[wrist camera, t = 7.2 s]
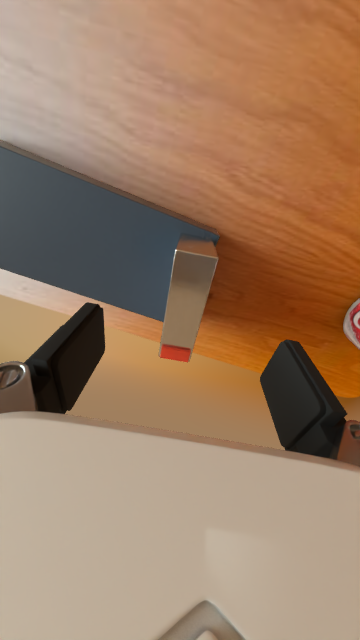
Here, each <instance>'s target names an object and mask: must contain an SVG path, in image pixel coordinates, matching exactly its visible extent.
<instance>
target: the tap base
mask: <svg viewBox="0 0 360 640" xmlns="http://www.w3.org/2000/svg"><path fill="white" fill-rule="evenodd" d="M180 233H186V234H191V235H196V236H201V237H206V238H211V239H212V241H213V244H214V246H215V247H216V244H217V242H218V240H219V238H220V236H219V234H218V232H217V230H216V229H214V228H212V227H209V226H207V225H204V224H202V223H200V222H197V221H195V220H192V219H190V218H188V217H185V216H183V215H180V214H178V213H175V212H173V211H171V210H168V209H166V208H163V207H161V206H158V205H156V204H154V203H151V202H149V201H146V200H144V199H142V198H139V197H137V196H134V195H132V194H129V193H127V192H125V191H122V190H120V189H117V188H115V187H112V186H110V185H108V184H105V183H103V182H100V181H98V180H96V179H93V178H91V177H88V176H86V175H83V174H81V173H79V172H76V171H74V170H71V169H69V168H66V167H64V166H62V165H59V164H57V163H54V162H52V161H50V160H47V159H45V158H42V157H40V156H37V155H35V154H33V153H30V152H28V151H25V150H23V149H21V148H18V147H16V146H13V145H11V144H8V143H6V142H4V141H1V140H0V268H1V269H4V270H7V271H10V272H13V273H16V274H19V275H22V276H25V277H28V278H31V279H34V280H37V281H40V282H43V283H46V284H49V285H52V286H56V287H59V288H62V289H65V290H68V291H71V292H74V293H77V294H80V295H83V296H86V297H89V298H92V299H95V300H98V301H101V302H104V303H107V304H110V305H113V306H116V307H119V308H122V309H125V310H128V311H132V312H135V313H138V314H141V315H144V316H147V317H150V318H153V319H156V320H159V321H162V322H164V317H165V311H166V304H167V298H168V291H169V285H170V279H171V272H172V266H173V260H174V253H175V249H176V246H177V242H178V239H179V236H180Z"/></svg>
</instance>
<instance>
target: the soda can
mask: <svg viewBox="0 0 360 640" xmlns="http://www.w3.org/2000/svg"><path fill="white" fill-rule="evenodd" d="M343 330H344V333H345V335H346V336H347V337H348V339H349V340H350V341H351V342H352V343H353V344H354V345H355V346H356V347H357V348H358V349H359V350H360V298H359V299H358V300H357V301H356V302H354V303H353V304H352V306H351V307H350V308H349V309H348V311H347V313H346V316H345V319H344V323H343Z"/></svg>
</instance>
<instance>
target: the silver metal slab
mask: <svg viewBox="0 0 360 640" xmlns="http://www.w3.org/2000/svg"><path fill="white" fill-rule="evenodd" d="M218 259H219V258H218V255H217V252H216V249H215V246H214V244H213V241H212V239H211V238H206V237H201V236H196V235H191V234H186V233H180V236H179V239H178V242H177V246H176V249H175V253H174V260H173V266H172V272H171V279H170V285H169V291H168V298H167V304H166V311H165V317H164V323H163V330H162V336H161V342H160V349H159V357H160V358H166V359H171V360H177V361H184V362H189V361H190V358H191V354H192V351H193V348H194V344H195V340H196V337H197V333H198V330H199V326H200V323H201V319H202V316H203V312H204V309H205V305H206V302H207V298H208V295H209V291H210V288H211V284H212V281H213V277H214V273H215V270H216V266H217V263H218Z"/></svg>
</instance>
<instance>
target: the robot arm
mask: <svg viewBox="0 0 360 640" xmlns="http://www.w3.org/2000/svg"><path fill="white" fill-rule="evenodd" d="M104 351H105V335H104V316H103V308H100V306H99V305H98V304H93V303H85V304H84V305H83V306H82V307H81V308H80V309H79V310H78V311H77V312H76V313H75V314H74V315H73V316H72V317H71V318H70V320H68V321H67V322H66V323H65V324H64V325H62V326H61V327H60V328H59V329H58V330H57V331H56V332H55V333H54V334H53V335H52V336H51V337H50V338H49V339H48V340H47V341H46V342H45V343H44V344H43V345H42V346H41V347H40V348H39V349H38V350H37V351H36V352H35V353H34V354H33V355H32V356H31V357H30V358H29V359H27V360H26V361H25V362H24V363H22V362H18V361H11V362H5V363H1V364H0V640H360V422H358V421H355V420H349V421H347V422H346V420H345V418H344V417H345V416H346V415H347V413H346V411H345V410H344V408H343V407H342V405H341V404H340V402H339V401H338V399H337V398H336V396H335V395H334V393H333V392H332V390H331V389H330V387H329V386H328V384H327V383H326V381H325V380H324V378H323V377H322V376H321V374H320V373H319V371H318V370H317V368H316V367H315V365H314V364H313V362H312V361H311V359H310V358H309V356H308V355H307V353H306V352H305V350H304V349H303V347H302V346H301V344H300V343H299V342H297V341H292V340H285V341H284V342H281V343H280V344H279V346H278V348H277V349H276V351H275V353H274V354H273V356H272V358H271V359H270V361H269V363H268V364H267V366H266V368H265V370H264V371H263V373H262V375H261V377H260V382H261V385H262V388H263V392H264V395H265V398H266V401H267V404H268V407H269V409H270V413H271V416H272V419H273V422H274V425H275V428H276V431H277V434H278V437H279V440H280V443H281V445H282V446H283V447H285V450H280V449H274V448H269V447H263V446H257V445H251V444H246V443H239V442H234V441H228V440H222V439H216V438H210V437H204V436H199V435H192V434H187V433H181V432H174V431H169V430H163V429H156V428H150V427H144V426H138V425H132V424H126V423H119V422H113V421H107V420H101V419H94V418H87V417H81V416H74V415H67V414H65V413H66V411H67V410H68V411H70V410H71V409H72V407H73V406H74V404H75V402H76V401H77V399H78V397H79V395H80V394H81V392H82V390H83V388H84V386H85V385H86V383H87V382H88V380H89V378H90V376H91V375H92V373H93V371H94V369H95V368H96V366H97V364H98V363H99V361H100V359H101V357H102V355H103V354H104Z"/></svg>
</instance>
